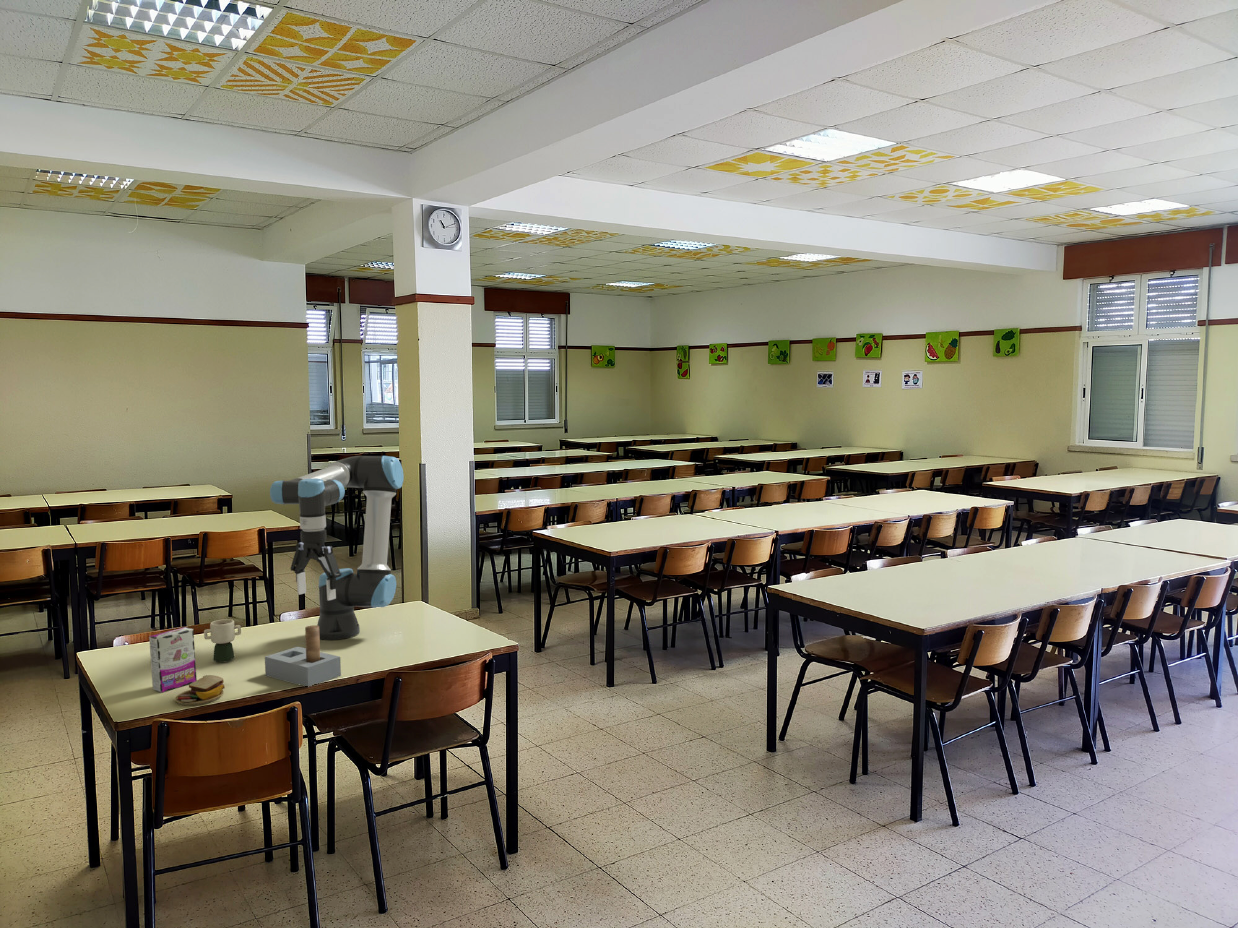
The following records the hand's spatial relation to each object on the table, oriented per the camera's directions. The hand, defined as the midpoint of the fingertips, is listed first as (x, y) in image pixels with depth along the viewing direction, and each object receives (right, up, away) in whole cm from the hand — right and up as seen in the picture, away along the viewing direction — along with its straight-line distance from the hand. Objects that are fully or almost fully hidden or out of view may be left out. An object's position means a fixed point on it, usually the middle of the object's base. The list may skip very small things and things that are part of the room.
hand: (316, 596), depth 266 cm
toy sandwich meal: (-26, -26, -21) cm, 42 cm away
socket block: (-3, -24, -3) cm, 24 cm away
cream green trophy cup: (-34, -23, +12) cm, 43 cm away
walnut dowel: (+1, -22, -6) cm, 23 cm away
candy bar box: (-38, -25, -12) cm, 47 cm away
